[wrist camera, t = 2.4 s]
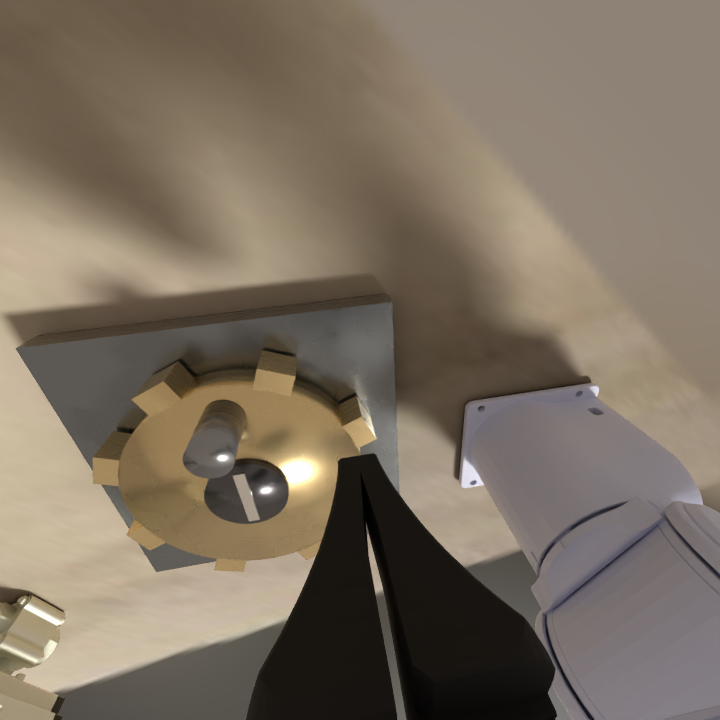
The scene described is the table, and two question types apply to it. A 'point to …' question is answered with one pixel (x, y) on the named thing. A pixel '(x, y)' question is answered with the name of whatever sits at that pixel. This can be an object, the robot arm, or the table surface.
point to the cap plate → (218, 353)
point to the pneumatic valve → (27, 658)
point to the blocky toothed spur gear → (233, 461)
